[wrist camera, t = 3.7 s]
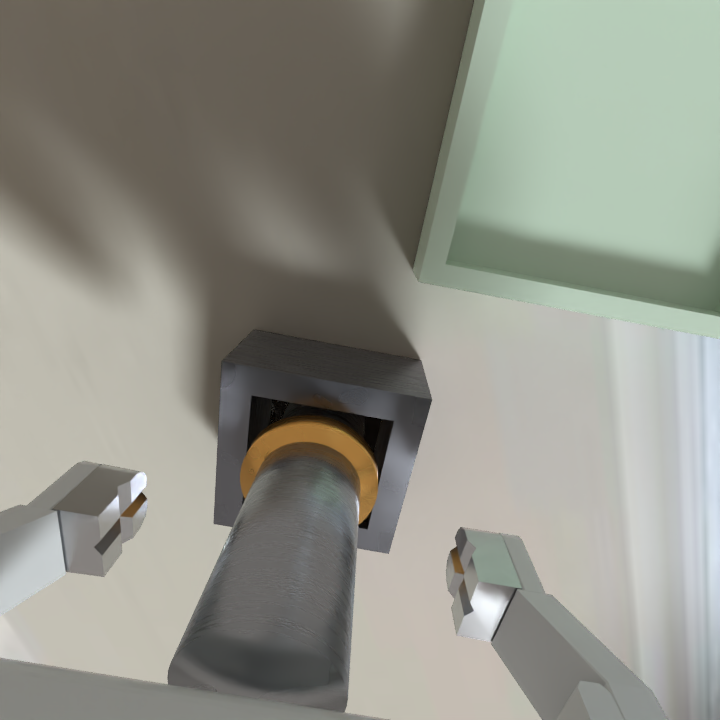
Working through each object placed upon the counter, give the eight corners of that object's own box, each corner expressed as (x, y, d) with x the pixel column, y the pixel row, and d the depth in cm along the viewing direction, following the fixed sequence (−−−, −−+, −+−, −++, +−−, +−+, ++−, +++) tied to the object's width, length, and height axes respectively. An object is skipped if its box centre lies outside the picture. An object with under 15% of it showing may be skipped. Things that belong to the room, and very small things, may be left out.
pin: (279, 360, 14) (132, 588, 6) (387, 380, 14) (401, 633, 6) (269, 451, 15) (140, 739, 7) (367, 469, 16) (355, 772, 7)
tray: (511, -163, 9) (546, -260, 7) (921, -72, 9) (1060, -142, 7) (412, 270, 13) (418, 281, 11) (707, 326, 13) (762, 347, 11)
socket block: (253, 329, 14) (221, 361, 11) (421, 360, 14) (432, 399, 11) (242, 467, 16) (213, 523, 13) (386, 493, 16) (388, 553, 13)
